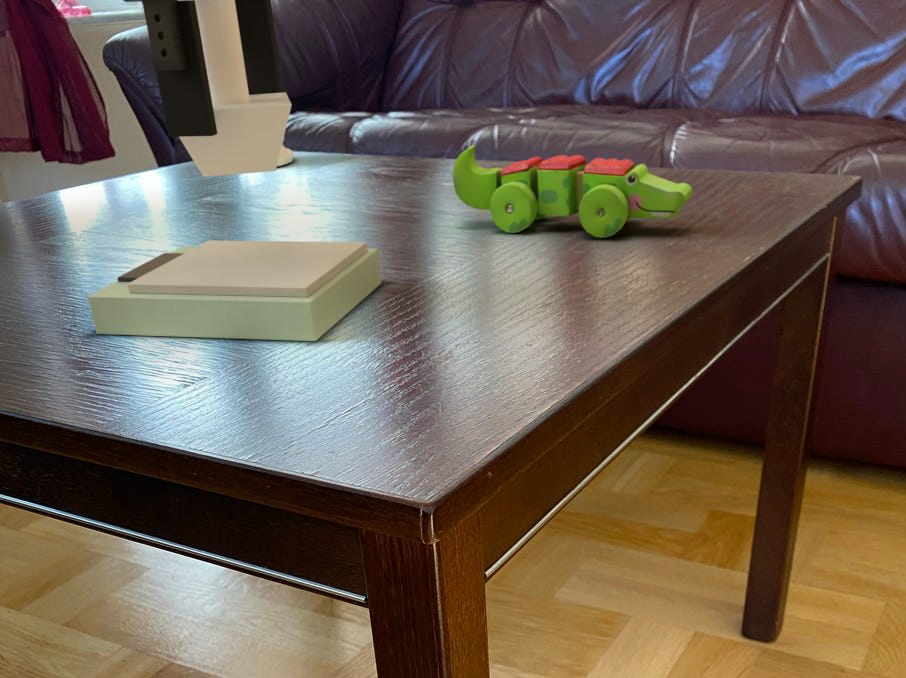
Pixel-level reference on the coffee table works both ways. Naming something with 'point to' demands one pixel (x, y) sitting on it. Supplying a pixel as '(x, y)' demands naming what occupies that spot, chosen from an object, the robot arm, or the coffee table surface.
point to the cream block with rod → (235, 103)
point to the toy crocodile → (567, 191)
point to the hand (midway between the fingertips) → (230, 122)
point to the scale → (240, 291)
